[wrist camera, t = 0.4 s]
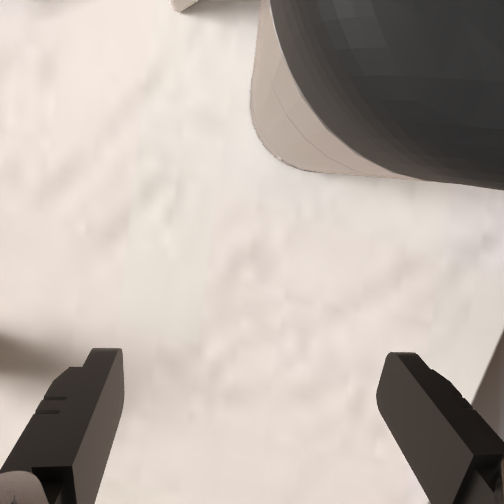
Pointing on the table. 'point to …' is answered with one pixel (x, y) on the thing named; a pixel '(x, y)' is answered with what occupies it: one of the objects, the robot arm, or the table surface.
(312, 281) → the table surface
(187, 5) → the medicine bottle
